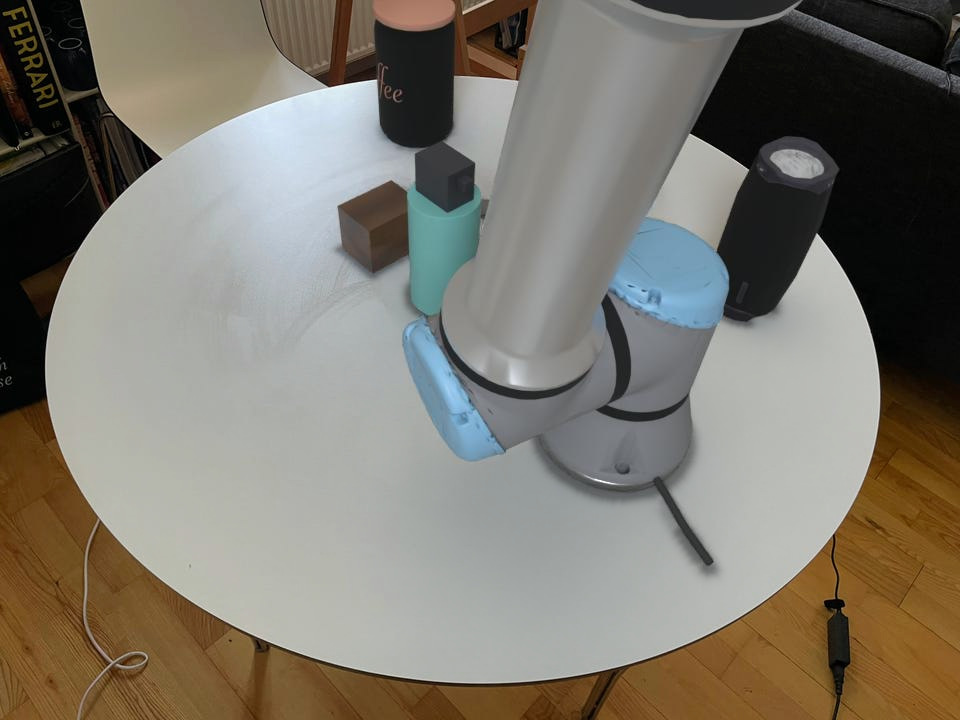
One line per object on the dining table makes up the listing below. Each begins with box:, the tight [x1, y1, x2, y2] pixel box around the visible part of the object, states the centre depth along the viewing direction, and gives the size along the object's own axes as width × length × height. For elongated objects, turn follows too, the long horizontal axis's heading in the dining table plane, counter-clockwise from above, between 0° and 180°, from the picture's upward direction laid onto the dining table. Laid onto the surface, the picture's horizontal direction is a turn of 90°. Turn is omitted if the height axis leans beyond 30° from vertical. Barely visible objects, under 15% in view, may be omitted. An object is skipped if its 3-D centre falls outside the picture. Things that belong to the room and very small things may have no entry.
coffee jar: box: [372, 0, 456, 149], centre depth 104 cm, size 11×11×18 cm
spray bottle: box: [407, 140, 483, 316], centre depth 81 cm, size 15×8×19 cm, turn 43°
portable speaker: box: [715, 135, 840, 323], centre depth 82 cm, size 9×9×20 cm
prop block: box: [337, 179, 409, 274], centre depth 91 cm, size 6×8×6 cm
